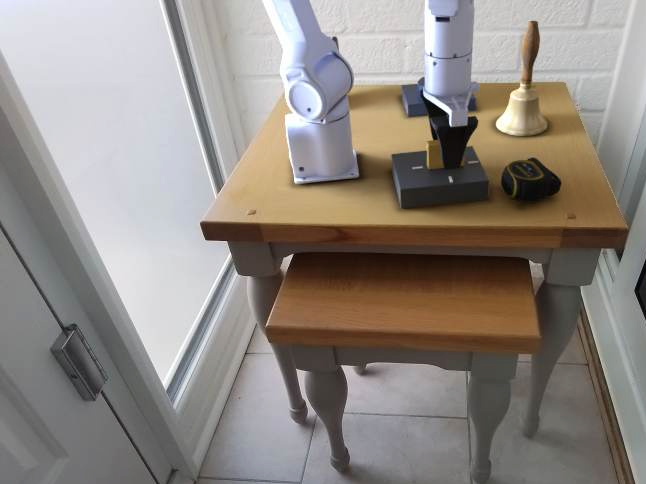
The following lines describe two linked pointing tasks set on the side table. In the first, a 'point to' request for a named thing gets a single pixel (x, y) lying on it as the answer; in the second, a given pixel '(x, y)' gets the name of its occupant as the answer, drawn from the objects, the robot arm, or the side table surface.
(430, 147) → the lock knob
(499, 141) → the side table surface
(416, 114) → the button base
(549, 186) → the tape measure
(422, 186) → the plate
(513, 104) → the hand bell
